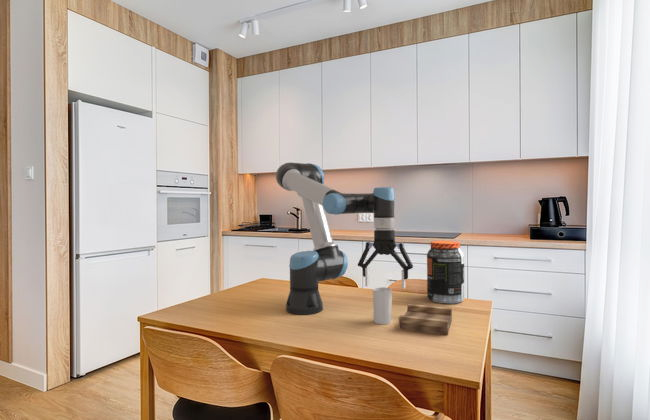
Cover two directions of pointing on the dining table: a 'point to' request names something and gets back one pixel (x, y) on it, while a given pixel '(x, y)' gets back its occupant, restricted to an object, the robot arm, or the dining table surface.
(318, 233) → the robot arm
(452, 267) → the supplement tub
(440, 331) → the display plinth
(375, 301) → the mug
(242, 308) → the dining table surface
